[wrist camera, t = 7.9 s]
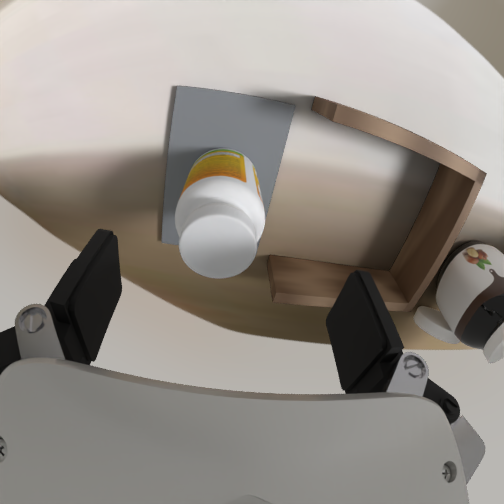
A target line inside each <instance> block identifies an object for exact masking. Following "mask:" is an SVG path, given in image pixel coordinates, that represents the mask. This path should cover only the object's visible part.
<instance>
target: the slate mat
mask: <svg viewBox="0 0 504 504" xmlns="http://www.w3.org/2000/svg"><path fill="white" fill-rule="evenodd" d="M294 110H295V105H291V104H287V103H283V102H279V101H274V100H270V99H265V98H260V97H255V96H250V95H244V94H239V93H233V92H226V91H220V90H213V89H205V88H197V87H188V86H177V91H176V97H175V103H174V110H173V117H172V124H171V132H170V140H169V149H168V158H167V168H166V179H165V191H164V206H163V223H162V243H167V244H174V245H179V239H180V237H179V235H178V232H177V229H176V225H175V212H176V207H177V204H178V201H179V198H180V196H181V193H182V191H183V188H184V185H185V183H186V180H187V178H188V175H189V172H190V170H191V168H192V166H193V164H194V163H195V162H196V160H197V159H198V158H199V157H200V156H202V155H203V154H205V153H206V152H208V151H211V150H214V149H219V148H227V149H232V150H236V151H238V152H240V153H242V154H244V155H245V156H246V157H247V158H248V159H249V160H250V161H251V162H252V164H253V165H254V167H255V170H256V172H257V176H258V181H259V186H260V191H261V196H262V201H263V205H264V211H265V219H266V216H267V212H268V208H269V204H270V201H271V197H272V193H273V189H274V186H275V182H276V178H277V174H278V171H279V167H280V163H281V159H282V155H283V152H284V148H285V144H286V140H287V136H288V133H289V129H290V125H291V121H292V117H293V114H294ZM260 238H261V237H260ZM259 242H260V239H259V240H258V242H257V249H258V246H259ZM256 253H257V250H256ZM255 256H256V255H255Z"/></svg>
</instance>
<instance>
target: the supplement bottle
mask: <svg viewBox="0 0 504 504" xmlns="http://www.w3.org/2000/svg"><path fill="white" fill-rule="evenodd" d="M175 225H176V229H177V232H178V235H179V237H180V239H179V251H180V254H181V257H182V259H183V261H184V262H185V263H186V265H187V266H188V267H189V268H191V269H192V270H193V271H195V272H196V273H198V274H200V275H203V276H205V277H209V278H218V279H219V278H228V277H232V276H235V275H237V274H240V273H241V272H243V271H244V270H245V269H247V268H248V267H249V266H250V264H251V263H252V261H253V260H254V258H255V255H256V250H257V242H258V240H259V239H260V237H261V235H262V233H263V230H264V226H265V211H264V205H263V201H262V196H261V191H260V186H259V181H258V176H257V172H256V170H255V167H254V165H253V164H252V162H251V161H250V160H249V159H248V158H247V157H246V156H245V155H244V154H242V153H240V152H238V151H236V150H232V149H227V148H219V149H214V150H211V151H208V152H206V153H205V154H203V155H202V156H200V157H199V158H198V159H197V160H196V162H195V163H194V164H193V166H192V168H191V170H190V172H189V175H188V178H187V180H186V183H185V185H184V188H183V191H182V193H181V196H180V198H179V201H178V204H177V207H176V212H175Z"/></svg>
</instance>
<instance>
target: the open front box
mask: <svg viewBox="0 0 504 504" xmlns="http://www.w3.org/2000/svg"><path fill="white" fill-rule="evenodd" d="M311 110H313V111H315V112H317V113H318V114H320V115H322V116H324V117H326V118H328V119H329V120H331V121H333V122H336V123H340V124H343V125H346V126H349V127H352V128H355V129H358V130H361V131H364V132H367V133H370V134H372V135H375V136H378V137H380V138H383V139H386V140H388V141H391V142H393V143H396V144H398V145H401V146H403V147H406V148H408V149H410V150H413V151H415V152H417V153H420V154H422V155H424V156H426V157H429V158H431V159H433V160H435V161H437V162H439V163H441V164H440V166H439V169H438V171H437V174H436V176H435V179H434V181H433V183H432V186H431V188H430V191H429V193H428V195H427V197H426V200H425V202H424V204H423V206H422V208H421V211H420V213H419V215H418V217H417V219H416V221H415V223H414V225H413V227H412V229H411V231H410V233H409V235H408V237H407V239H406V241H405V243H404V245H403V247H402V249H401V251H400V253H399V255H398V256H397V258H396V260H395V262H394V264H393V266H392V267H391V269H390V271H384V270H377V269H370V268H362V267H355V266H348V265H341V264H333V263H326V262H319V261H311V260H304V259H297V258H290V257H282V256H275V255H269V259H268V262H267V268H268V275H269V281H270V287H271V294H272V300H273V303H284V304H295V305H307V306H319V307H333V305H334V303H335V301H336V299H337V298H338V296H339V294H340V292H341V290H342V288H343V286H344V284H345V282H346V280H347V278H348V276H349V275H350V273H353V272H354V271H355V270H361V271H368V272H369V273H370V274H371V276H372V278H373V280H374V282H375V284H376V286H377V288H378V290H379V292H380V295H381V297H382V299H383V301H384V303H385V305H386V307H387V309H388V311H407V312H411V310H412V309H413V307H414V306H415V305H416V303H417V302H418V300H419V299H420V297H421V296H422V294H423V293H424V291H425V290H426V288H427V287H428V285H429V284H430V282H431V281H432V279H433V277H434V276H435V274H436V273H437V271H438V269H439V268H440V266H441V264H442V263H443V261H444V259H445V258H446V256H447V254H448V252H449V251H450V249H451V247H452V245H453V244H454V242H455V240H456V238H457V236H458V234H459V232H460V231H461V229H462V227H463V225H464V223H465V221H466V219H467V217H468V215H469V213H470V211H471V208H472V206H473V204H474V202H475V200H476V198H477V195H478V193H479V191H480V189H481V186H482V184H483V181H484V179H485V177H486V174H487V173H485V172H484V171H482V170H480V169H479V168H477V167H476V166H474V165H473V164H471V163H469V162H468V161H466V160H464V159H463V158H461V157H459V156H458V155H456V154H454V153H452V152H451V151H449V150H447V149H445V148H443V147H441V146H439V145H437V144H435V143H433V142H431V141H429V140H427V139H425V138H423V137H421V136H419V135H417V134H415V133H413V132H411V131H408V130H406V129H404V128H402V127H399V126H397V125H395V124H392V123H390V122H388V121H385V120H383V119H380V118H378V117H375V116H373V115H370V114H367V113H365V112H362V111H359V110H356V109H354V108H351V107H348V106H345V105H342V104H339V103H336V102H333V101H329V100H326V99H323V98H320V97H316V96H315V98H314V102H313V106H312V109H311Z"/></svg>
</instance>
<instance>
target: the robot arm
mask: <svg viewBox="0 0 504 504" xmlns="http://www.w3.org/2000/svg"><path fill="white" fill-rule="evenodd" d="M121 292H122V285H121V275H120V265H119V254H118V240H117V236H116V235H114V234H113V231H110V230H103V229H98V230H97V231H96V233H95V234H94V235H93V237H92V238H91V239H90V241H89V242H88V244H87V245H86V246H85V248H84V249H83V251H82V252H81V253H80V255H79V256H78V258H77V259H74V261H73V262H72V263H71V264H70V266H69V268H68V269H67V271H66V272H65V274H64V275H63V277H62V278H61V280H60V281H59V283H58V285H57V286H56V288H55V289H54V291H53V292H52V294H51V296H50V297H49V299H48V301H47V302H46V304H45V306H43V305H41V304H31V305H28V306H26V307H24V308H23V309H22V310H21V311H20V312H19V313H18V315H17V316H16V319H15V326H14V327H12V328H10V329H7V330H5V331H3V332H0V504H469V499H468V492H467V486H466V485H467V483H468V481H469V480H470V479H471V477H472V475H473V474H474V472H475V470H476V469H477V467H478V465H479V464H480V462H481V460H482V458H483V456H484V454H485V445H484V442H483V440H482V439H481V438H480V436H479V435H478V434H477V433H476V431H475V430H474V429H473V428H472V426H471V425H470V424H469V423H468V421H467V420H466V419H465V418H464V416H461V417H459V415H460V408H459V405H458V402H457V401H456V399H455V398H454V397H453V396H452V395H450V394H449V393H448V392H446V391H445V390H443V389H442V388H441V387H439V386H438V385H437V384H435V383H434V382H433V381H431V380H430V379H429V378H428V375H429V369H428V366H427V364H426V362H425V361H424V359H423V358H422V357H420V356H419V355H418V354H416V353H412V352H406V353H404V354H403V352H402V349H403V348H404V346H403V344H402V341H401V339H400V336H399V334H398V332H397V330H396V327H395V325H394V323H393V320H392V318H391V316H390V314H389V312H388V309H387V307H386V305H385V303H384V301H383V299H382V297H381V295H380V292H379V290H378V288H377V286H376V284H375V282H374V280H373V278H372V276H371V274H370V273H369V272H368V271H361V270H355V271H354V272H353V273H350V275H349V276H348V278H347V280H346V282H345V284H344V286H343V288H342V290H341V292H340V294H339V296H338V298H337V299H336V301H335V303H334V305H333V307H332V309H331V310H330V312H329V314H328V316H327V319H326V326H327V329H328V333H329V337H330V341H331V345H332V349H333V353H334V358H335V362H336V366H337V370H338V374H339V379H340V383H341V387H342V389H343V390H345V393H346V394H320V395H319V394H316V395H315V394H313V395H309V394H273V393H254V392H242V391H231V390H221V389H212V388H204V387H196V386H189V385H183V384H176V383H170V382H164V381H159V380H153V379H148V378H143V377H138V376H133V375H129V374H124V373H120V372H115V371H111V370H106V369H102V368H98V367H94V366H90V363H91V361H95V360H96V357H97V354H98V352H99V349H100V346H101V343H102V341H103V338H104V335H105V333H106V330H107V328H108V325H109V322H110V320H111V318H112V315H113V312H114V310H115V308H116V305H117V303H118V301H119V298H120V296H121Z"/></svg>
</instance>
